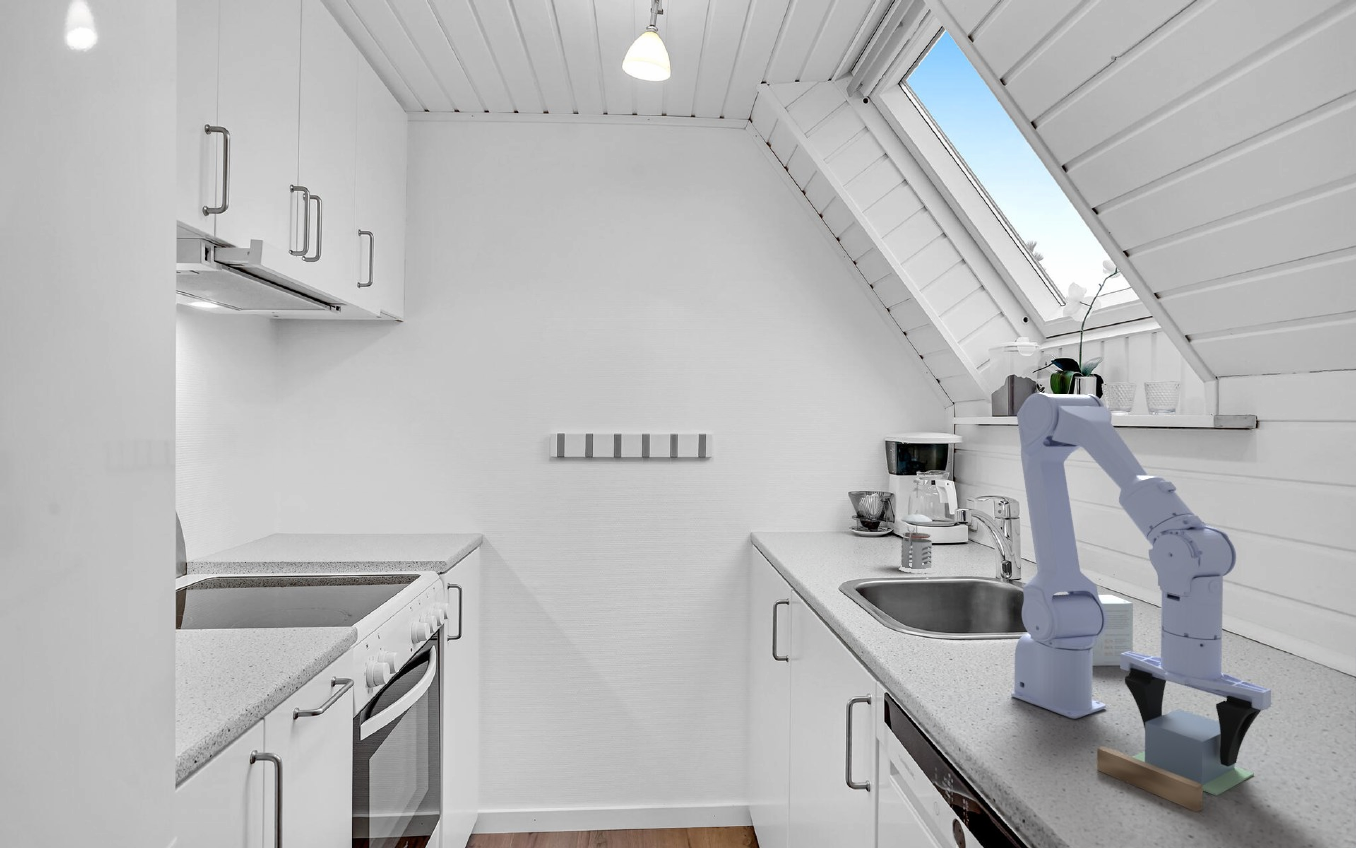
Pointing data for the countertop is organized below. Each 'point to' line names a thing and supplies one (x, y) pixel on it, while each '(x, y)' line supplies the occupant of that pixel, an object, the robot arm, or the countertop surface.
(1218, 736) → the grey-blue rectangular brick
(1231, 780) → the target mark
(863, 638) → the countertop surface
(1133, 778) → the wall
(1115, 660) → the small box
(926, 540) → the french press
